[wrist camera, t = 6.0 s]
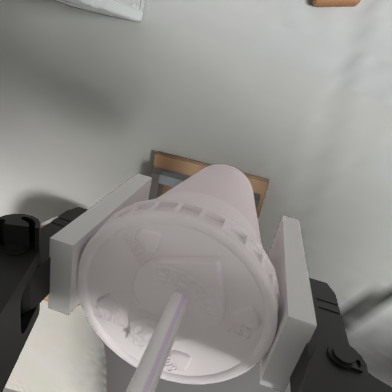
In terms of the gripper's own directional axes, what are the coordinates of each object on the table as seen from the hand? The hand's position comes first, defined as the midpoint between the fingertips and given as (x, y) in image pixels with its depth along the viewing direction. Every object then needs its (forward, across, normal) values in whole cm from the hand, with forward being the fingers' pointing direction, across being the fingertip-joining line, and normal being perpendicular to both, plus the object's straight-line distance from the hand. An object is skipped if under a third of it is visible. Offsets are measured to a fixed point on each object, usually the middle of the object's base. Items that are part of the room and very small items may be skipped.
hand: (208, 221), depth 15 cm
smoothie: (+4, 0, 0) cm, 4 cm away
